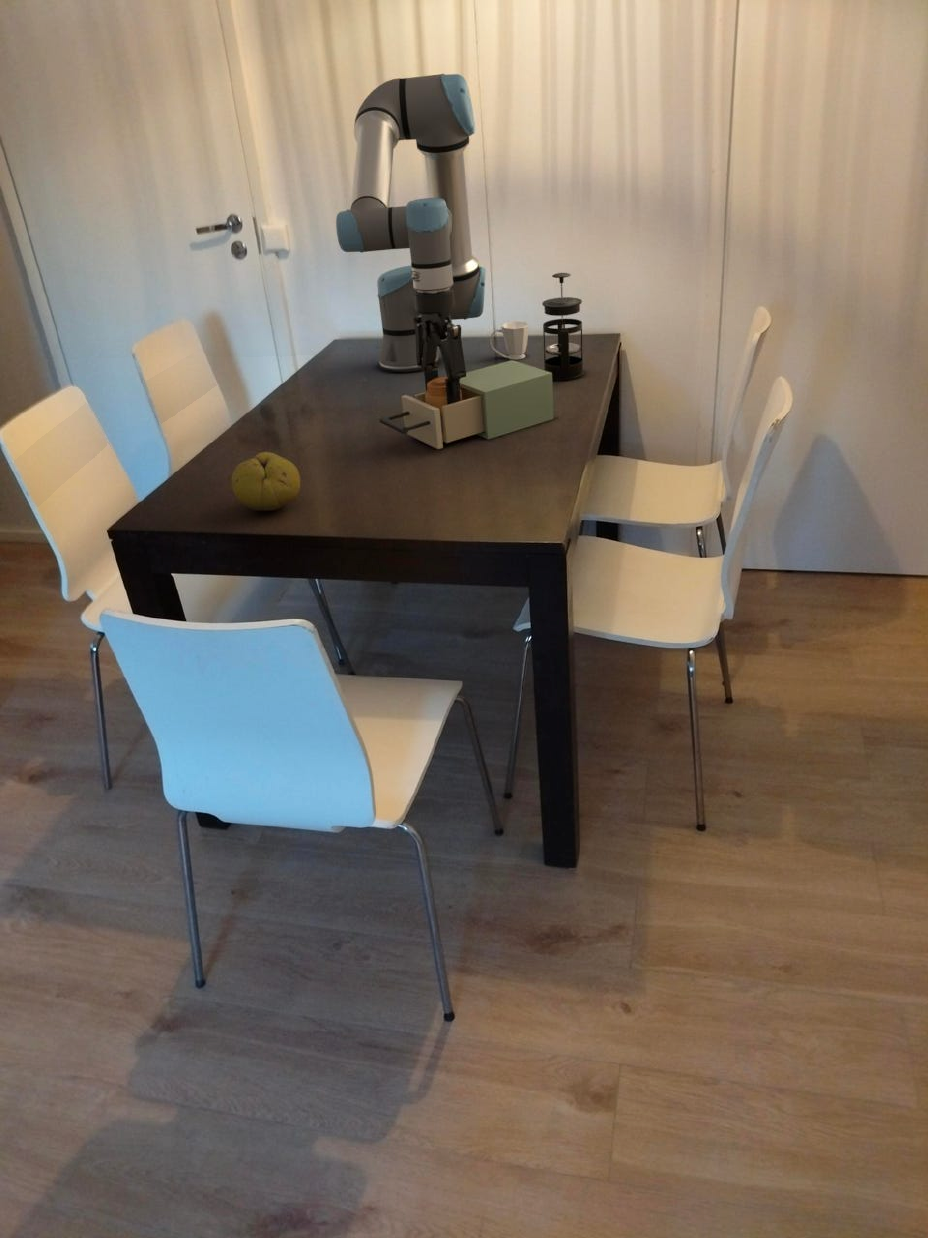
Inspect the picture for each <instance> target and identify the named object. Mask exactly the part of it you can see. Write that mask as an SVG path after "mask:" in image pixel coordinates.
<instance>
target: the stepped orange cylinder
mask: <svg viewBox="0 0 928 1238" xmlns="http://www.w3.org/2000/svg"><path fill="white" fill-rule="evenodd" d="M445 379H448V378H447V376H440V377H439V376H438V378H435V379H433V380H432V381H430V382H428V383H427V389H428V390H427V391H426V390H425V399H426V404H429V405H431V406H433V407H436V408H438V409H439V411H440V414H442V408H441V407H442V406H445V405H447V394H446V383H445ZM460 392H461V389H460ZM460 397H461V394H460ZM461 401H462V398H461Z"/></svg>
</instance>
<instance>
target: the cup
mask: <svg viewBox="0 0 928 1238" xmlns="http://www.w3.org/2000/svg"><path fill="white" fill-rule="evenodd" d="M500 327H501V328H499V329H495V330H494V331H493V332H492V333H491V335H490V340H489V341H490V342H489V345H490V348H491V349H492V350H493V352H495V353H496V354H497V355H499V356H500V357H502V358H505V359H509V360H513V361H516V360H523V359H525V358H526V355H525V353H526V351H527V347H528V339H529V338H528V337H529V330H530V329H529V328H530V324H529V323H528V322H526V321H509V322H505V323H504V324H501V325H500ZM495 333H501V334H502V338H503V342H504V347H505V350H506V353H507V354H508V355H505V354H503V353H501V352H500V351H498V350H497V349H496V348H495V347H494V346H493V336H494V335H495Z"/></svg>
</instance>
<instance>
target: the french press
mask: <svg viewBox="0 0 928 1238" xmlns="http://www.w3.org/2000/svg"><path fill="white" fill-rule="evenodd" d="M551 277H552V278H555V279H558V281H559V284H560V297H553V298H549V299H546V300H544V301H542V303H541V304H542V306H543V307H544V314H545V315H548V316H553V317H561V318H558V319H551V320H548V321H545V322H543V324H542V331H543V332H542V333H543V335H542V336H543V363H544V371H548V372H551V373H552V381H554V382H555V381H556V382H564V381H565V382H566V381H567V382H568V381H573V380H577V379H580V378H582V377H583V376H584V373H585V372H584V369H583V367H584V366H583V363H584V362H583V322H582V320H579V319H577V318H564V316H565V317H566V316H572V315H576V314H578V313H579V312H580V311H581V304H582V303H583V301H582V299H581V298H578V297H572V296H571V297H570V296H564V294H563V293H564V291H563V284H564V282H565V281H564V280H565V278H569V277H571V273H568V272H557V273H553V274H552V275H551ZM566 325H572V326H571V327H566ZM553 326H557V328H553ZM578 332H580V344H578V343H575V342H570V334H575V333H578ZM546 334H548V335H557V343H553V344H549V345H547V346H546ZM579 352H580V356H578V355H577V356H576V355H573V354H578V353H579ZM546 354H547V355H551V356H552V357H548V358H546Z"/></svg>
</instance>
